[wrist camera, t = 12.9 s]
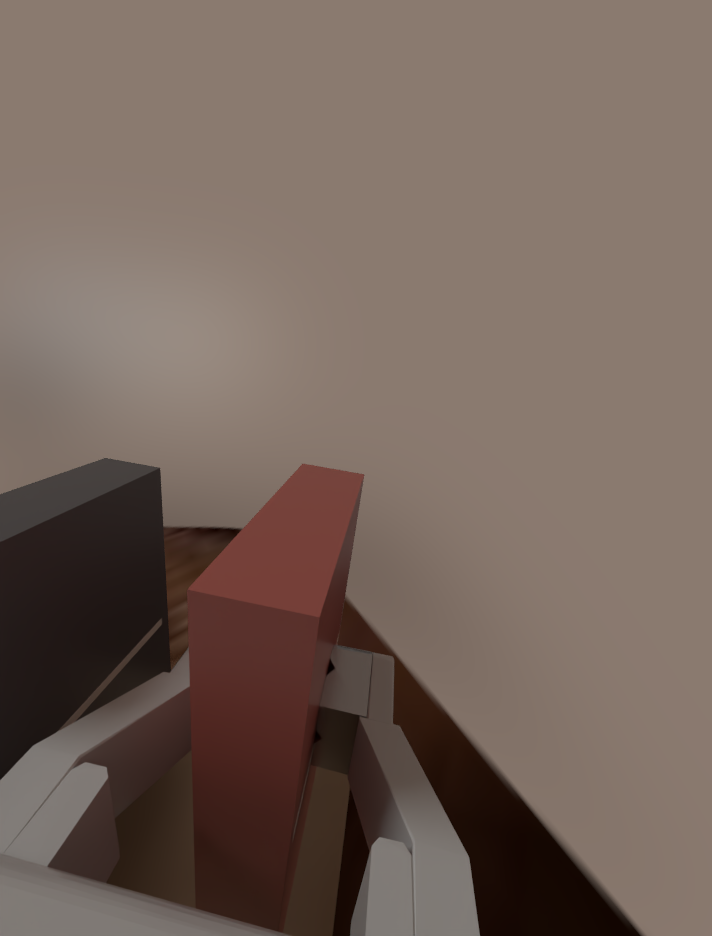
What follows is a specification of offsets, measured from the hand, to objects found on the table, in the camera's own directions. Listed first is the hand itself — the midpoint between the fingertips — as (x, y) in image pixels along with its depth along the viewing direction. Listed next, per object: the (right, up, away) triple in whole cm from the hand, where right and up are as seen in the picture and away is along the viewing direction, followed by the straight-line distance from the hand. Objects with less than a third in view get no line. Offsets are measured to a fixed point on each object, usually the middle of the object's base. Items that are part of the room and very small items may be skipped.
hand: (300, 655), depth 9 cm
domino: (-6, -5, +2) cm, 8 cm away
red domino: (-1, -5, +1) cm, 6 cm away
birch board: (-14, -7, -4) cm, 16 cm away
